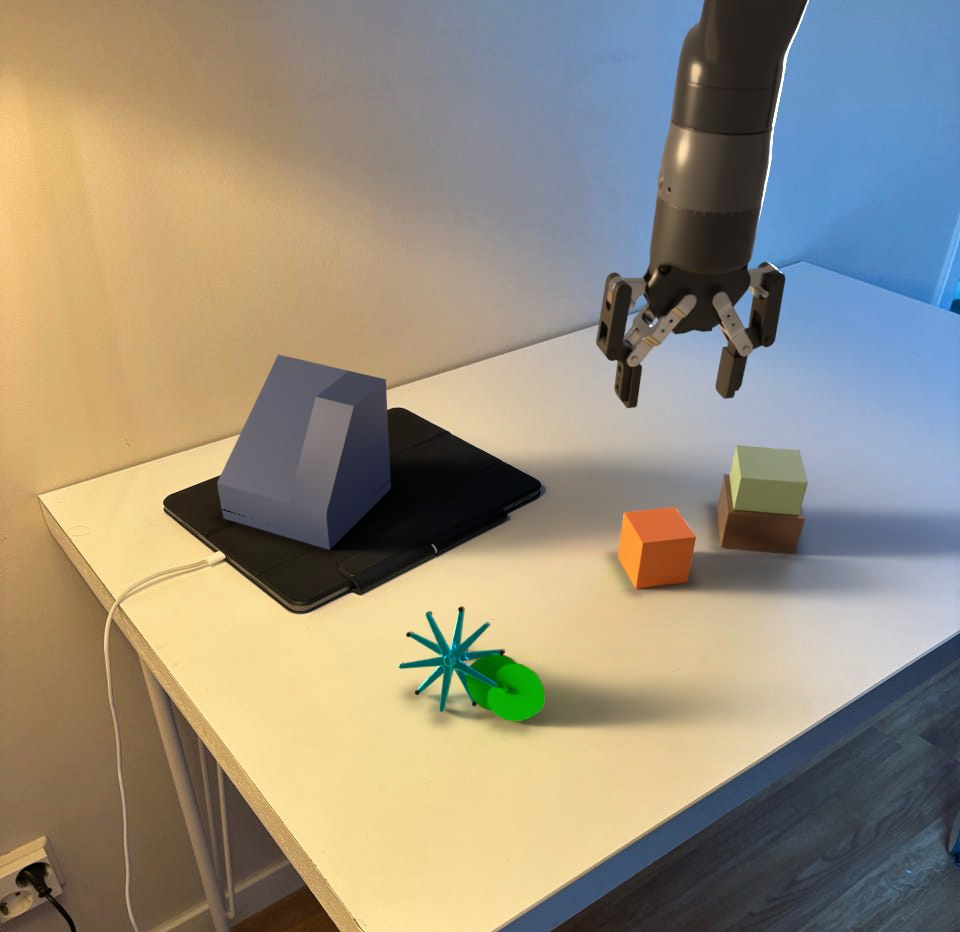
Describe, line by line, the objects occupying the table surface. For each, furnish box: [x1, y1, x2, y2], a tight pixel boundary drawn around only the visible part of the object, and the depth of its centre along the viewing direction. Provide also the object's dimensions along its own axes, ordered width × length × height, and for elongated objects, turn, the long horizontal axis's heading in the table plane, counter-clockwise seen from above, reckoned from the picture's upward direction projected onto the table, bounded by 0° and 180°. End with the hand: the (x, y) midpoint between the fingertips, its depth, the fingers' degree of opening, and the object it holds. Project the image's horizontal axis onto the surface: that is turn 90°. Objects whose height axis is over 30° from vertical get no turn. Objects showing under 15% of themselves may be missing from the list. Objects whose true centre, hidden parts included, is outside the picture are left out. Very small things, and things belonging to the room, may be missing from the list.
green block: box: [729, 444, 809, 515], centre depth 92 cm, size 6×6×4 cm
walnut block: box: [716, 473, 806, 555], centre depth 95 cm, size 7×7×4 cm
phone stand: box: [216, 354, 392, 551], centre depth 94 cm, size 12×12×12 cm
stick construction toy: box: [398, 605, 546, 722], centre depth 78 cm, size 12×7×8 cm
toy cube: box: [617, 506, 697, 590], centre depth 89 cm, size 5×5×5 cm
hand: (676, 399), depth 81 cm, fingers open, 8 cm apart
